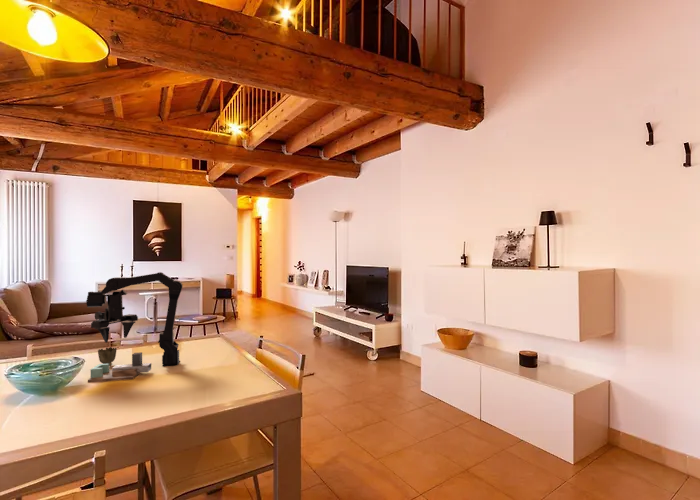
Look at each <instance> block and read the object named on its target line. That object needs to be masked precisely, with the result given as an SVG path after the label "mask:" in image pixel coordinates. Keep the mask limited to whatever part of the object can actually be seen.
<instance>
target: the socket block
mask: <svg viewBox="0 0 700 500" xmlns="http://www.w3.org/2000/svg"><path fill="white" fill-rule="evenodd" d="M109 370H110V366H109V364H103V363H99V364H97V365H95V366H94V367H92V368H91V369H90V378H96V377H102V376H103V373H108V372H109Z"/></svg>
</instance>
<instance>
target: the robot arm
mask: <svg viewBox="0 0 700 500" xmlns="http://www.w3.org/2000/svg"><path fill="white" fill-rule="evenodd" d="M153 282H160V283H161V284H162V285H163V286H165V287H166V288H168V297H169V298H168V299H169V300H168V306H167V312H166V318H165V325H164V330H163V331H160V332H159V339H158V341H157V343H158V346H159V348H161V350H163V354H162V355H161V362H162V366H161V367H171V366H178V365H179V364H180V363H181V360H180V349H179V346H180V345H179V344H178V342H176V341H175V336H174V335H175V333H174V325H175V319H176V315H177V314H176V312H177V307H178V303H179V302H178V301H179V298H180V295H181V292H182V290H183V283H182V281H180V280H177V279H176V280H174V279H173V278H172V277H170V276H168V275H166V274H165V273H163V272H161V271H159V272H156V273H150V274H144V275H138V276H132V277H131V276H130V277H129V276H128V277H125V276H123V277H117V276H116V277H115V276H114V277H111V278H109V279H108V280H107V281H106V282H105V286H104V288H103V289H102V290H101V291H88V292H87V297H86V300H85V302H86V307H87V308H97V307H98V308H100V307H104V305H107V307H106V308H105V309H104V312H102V311H96V312H94V319H95V320H93V321H91V324H90V328H92V329H94V330H97V331H98V332H99V333H100V335H101V337H102V339H103V340H104V343H109V335H110V325H112V324H116V323H117V324H118V323H121V324H122V326H123V328H122V329H123V337H124V338H125V339H126V338H127V337H128V335H129V333H130V331H131V329H132V328H133V326H134V324H136V321H137V322H138V320H139V316H138V315H137V314H130V313H129V314H124V313H123V310H125V306H123V296H126V295H127V294H128V292H127V291H125V289H124V288H127V287H130V286H135V285H141V284H146V283H153ZM118 290H119V291H118ZM111 292H112V293H111Z"/></svg>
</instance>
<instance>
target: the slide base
mask: <svg viewBox="0 0 700 500" xmlns="http://www.w3.org/2000/svg"><path fill="white" fill-rule="evenodd" d="M140 374H141V373H137V369H130V370H114V371H112V369H109V372H108V373H103V376H102V377H96V378H91V377H90V378H89V379H87V383H97V382H99V383H100V382H113V381H129V380H134V379H135V378H136V377H137V376H139V375H140Z"/></svg>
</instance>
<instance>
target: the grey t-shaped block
mask: <svg viewBox="0 0 700 500" xmlns="http://www.w3.org/2000/svg"><path fill="white" fill-rule="evenodd" d="M130 369H137V373H140V374H141V373H149V372H150V371H152V362H145V363H144V362H143V352H133V353H132V354H131V363H128V364H115V365H114V366H113V367H111V370H112V371H114V370H130Z"/></svg>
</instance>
